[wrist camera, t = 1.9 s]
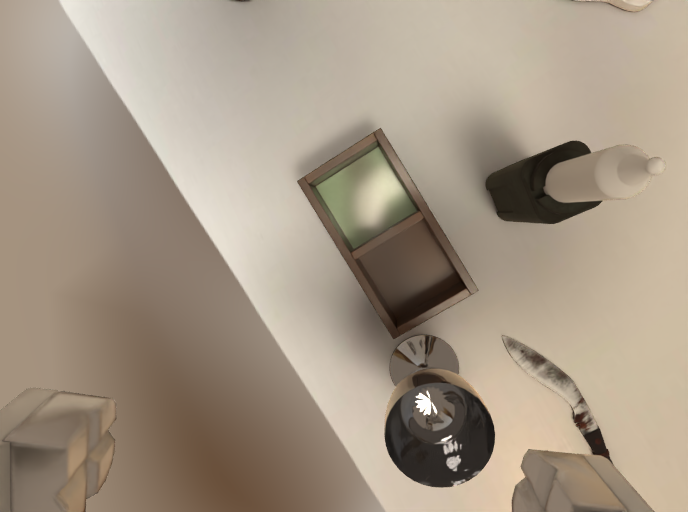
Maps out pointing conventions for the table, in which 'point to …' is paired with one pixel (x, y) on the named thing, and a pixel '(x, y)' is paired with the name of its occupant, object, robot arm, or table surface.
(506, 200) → the candle
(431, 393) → the wine glass
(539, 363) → the knife
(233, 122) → the table surface
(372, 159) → the wooden divided box
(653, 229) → the table surface
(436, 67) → the table surface
